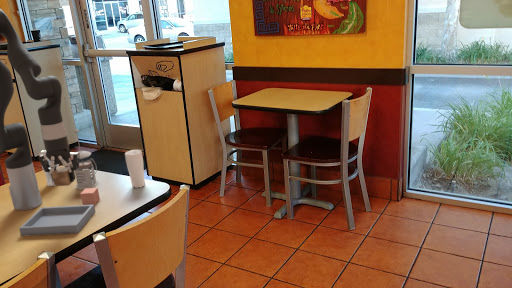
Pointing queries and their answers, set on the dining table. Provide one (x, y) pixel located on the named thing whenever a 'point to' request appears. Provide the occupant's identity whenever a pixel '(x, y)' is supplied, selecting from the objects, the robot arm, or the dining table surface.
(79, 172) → the french press
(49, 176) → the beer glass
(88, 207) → the slate tray
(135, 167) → the drinking glass
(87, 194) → the brick block
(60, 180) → the walnut block
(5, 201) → the dining table surface
